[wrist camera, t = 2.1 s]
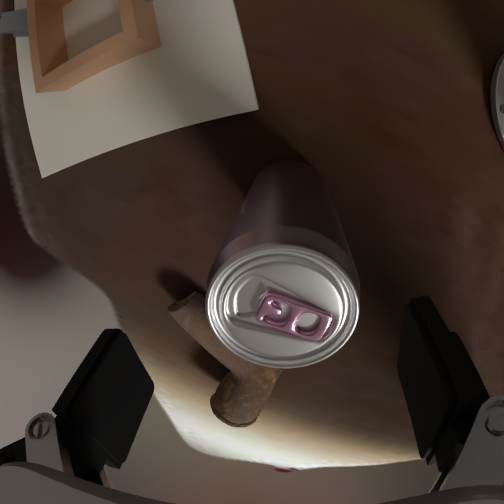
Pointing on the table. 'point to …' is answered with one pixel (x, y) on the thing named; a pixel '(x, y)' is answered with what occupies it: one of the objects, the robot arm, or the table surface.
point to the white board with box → (124, 71)
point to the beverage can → (284, 273)
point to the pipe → (241, 371)
